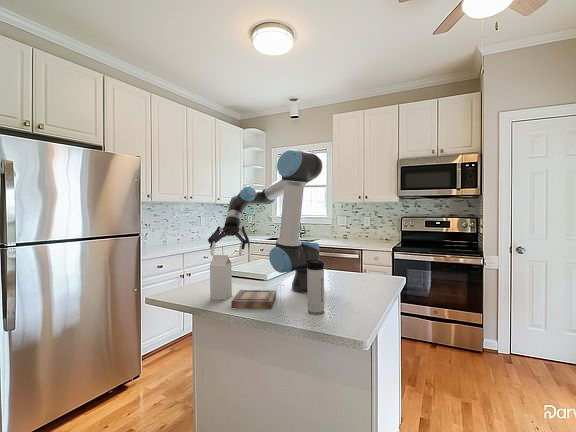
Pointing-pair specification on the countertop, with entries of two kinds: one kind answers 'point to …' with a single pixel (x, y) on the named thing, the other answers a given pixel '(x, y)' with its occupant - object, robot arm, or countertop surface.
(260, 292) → the plinth
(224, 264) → the milk carton
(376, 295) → the countertop surface
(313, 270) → the travel mug
